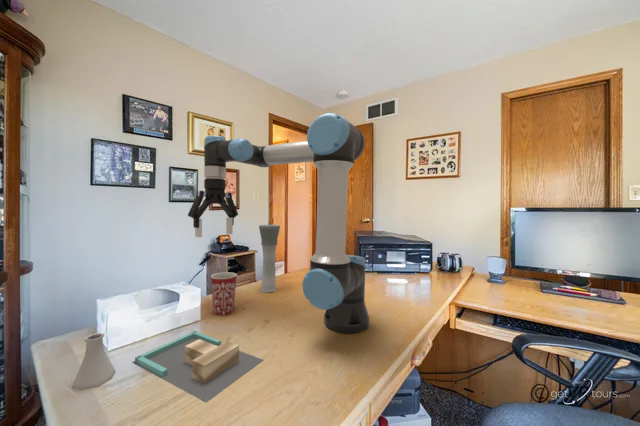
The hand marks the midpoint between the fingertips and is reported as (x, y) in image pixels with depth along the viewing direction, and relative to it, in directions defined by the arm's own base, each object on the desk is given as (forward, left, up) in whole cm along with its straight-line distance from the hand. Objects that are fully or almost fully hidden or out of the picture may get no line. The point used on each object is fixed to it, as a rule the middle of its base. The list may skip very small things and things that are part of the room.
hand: (214, 235), depth 102 cm
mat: (-26, +26, -28) cm, 46 cm away
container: (-3, -28, -28) cm, 40 cm away
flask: (-12, +42, -28) cm, 52 cm away
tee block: (-29, +26, -27) cm, 47 cm away
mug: (-4, -1, -28) cm, 28 cm away
